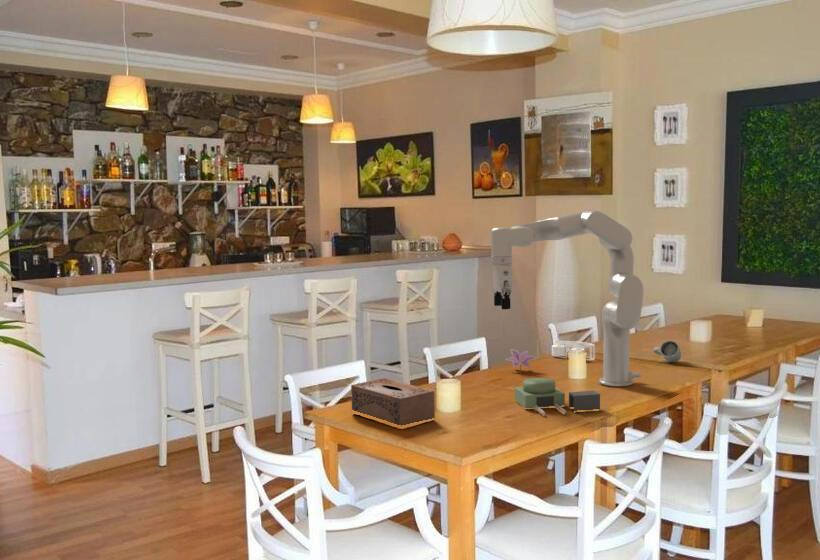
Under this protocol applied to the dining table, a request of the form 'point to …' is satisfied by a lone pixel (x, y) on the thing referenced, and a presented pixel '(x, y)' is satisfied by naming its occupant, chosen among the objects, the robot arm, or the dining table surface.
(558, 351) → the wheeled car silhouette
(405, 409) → the tissue box cover
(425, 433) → the dining table surface
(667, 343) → the ceramic mug
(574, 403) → the chute
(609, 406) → the dining table surface
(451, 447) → the dining table surface
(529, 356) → the lily
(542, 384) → the mower deck
